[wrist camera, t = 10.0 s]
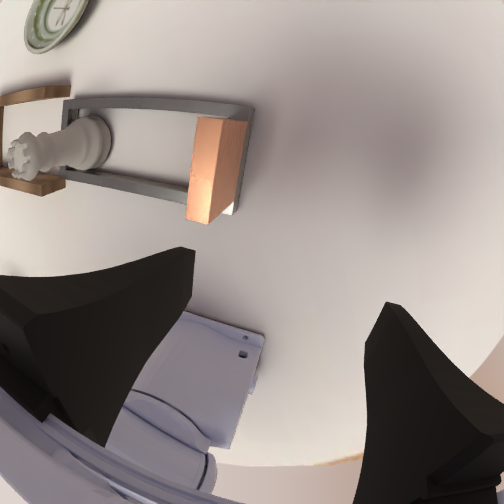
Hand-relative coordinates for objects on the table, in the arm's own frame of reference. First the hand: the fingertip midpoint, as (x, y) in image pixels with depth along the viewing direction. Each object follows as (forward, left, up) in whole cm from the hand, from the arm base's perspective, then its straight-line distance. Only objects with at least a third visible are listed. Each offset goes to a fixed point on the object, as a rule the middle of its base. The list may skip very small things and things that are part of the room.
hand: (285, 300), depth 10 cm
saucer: (+24, -16, -10) cm, 30 cm away
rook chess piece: (+17, -3, -10) cm, 20 cm away
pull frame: (+12, -3, -9) cm, 16 cm away
